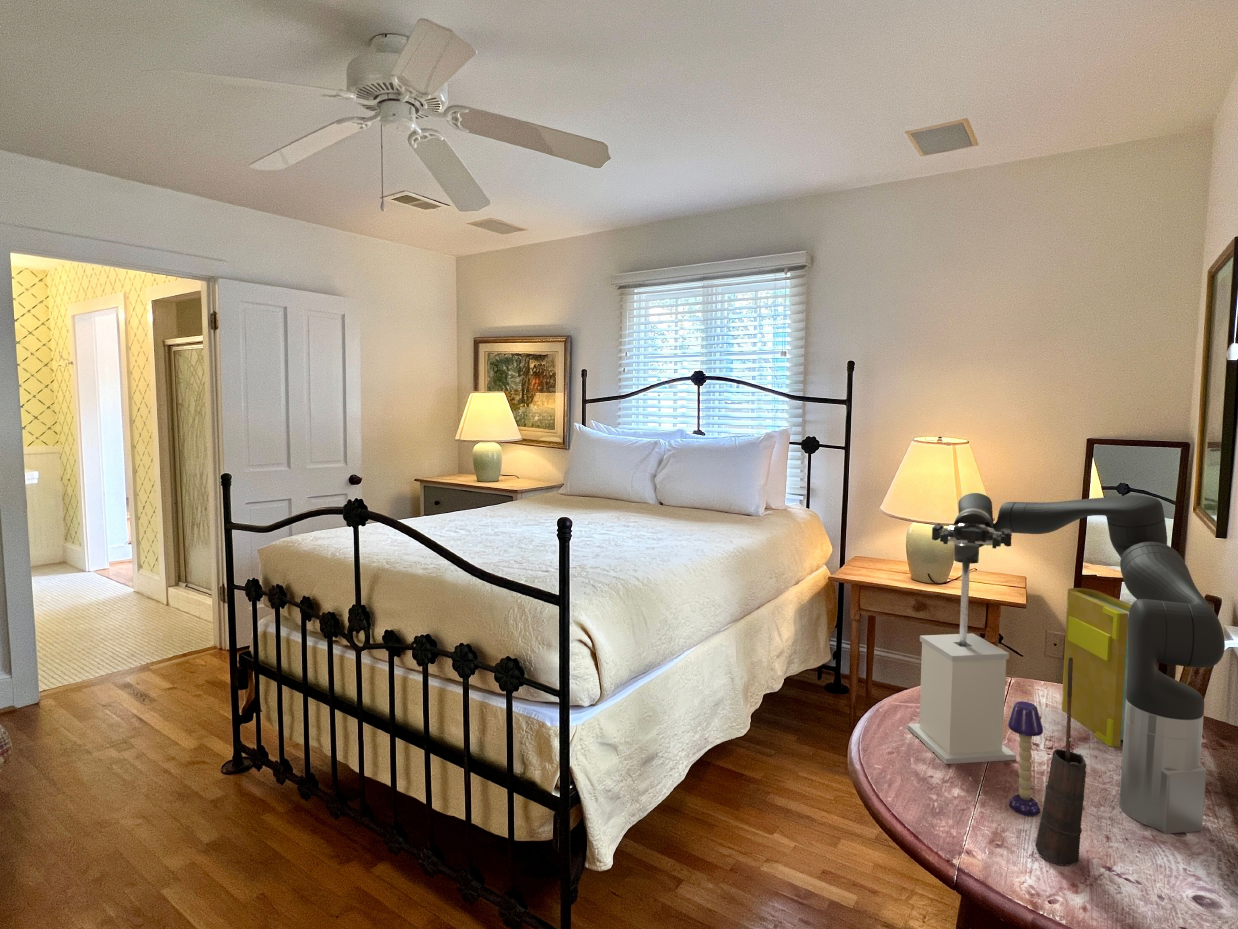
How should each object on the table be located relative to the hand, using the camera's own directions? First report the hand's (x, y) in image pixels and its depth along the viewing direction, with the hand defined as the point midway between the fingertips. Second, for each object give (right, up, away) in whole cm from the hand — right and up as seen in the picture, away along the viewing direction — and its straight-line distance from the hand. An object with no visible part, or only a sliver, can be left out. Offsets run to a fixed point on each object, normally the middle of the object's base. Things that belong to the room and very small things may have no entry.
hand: (969, 541), depth 134 cm
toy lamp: (-5, -39, -26) cm, 47 cm away
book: (+25, -36, +1) cm, 44 cm away
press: (-5, -37, -6) cm, 38 cm away
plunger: (-5, -25, -7) cm, 27 cm away
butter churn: (-7, -40, -38) cm, 56 cm away
